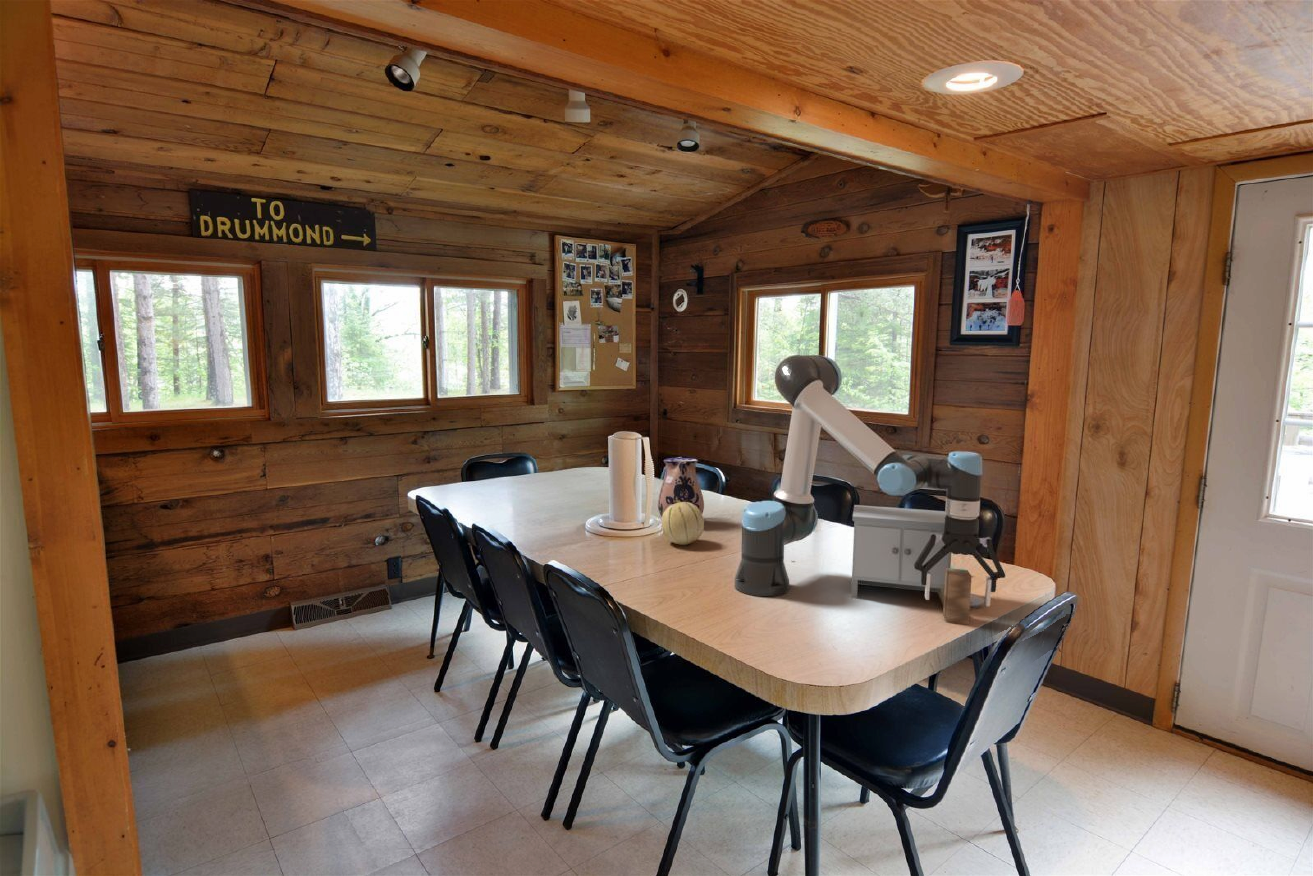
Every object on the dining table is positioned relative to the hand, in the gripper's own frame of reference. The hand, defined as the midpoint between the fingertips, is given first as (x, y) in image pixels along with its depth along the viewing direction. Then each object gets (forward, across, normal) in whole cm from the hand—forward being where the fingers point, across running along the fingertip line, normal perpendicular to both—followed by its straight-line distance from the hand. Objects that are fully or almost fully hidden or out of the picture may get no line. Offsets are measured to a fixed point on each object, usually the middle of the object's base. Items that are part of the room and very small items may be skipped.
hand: (956, 601), depth 167 cm
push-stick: (+5, 0, +8) cm, 9 cm away
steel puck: (+5, +4, +13) cm, 15 cm away
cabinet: (+5, -13, +15) cm, 20 cm away
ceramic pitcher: (+5, -91, +72) cm, 116 cm away
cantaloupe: (+5, -82, +44) cm, 93 cm away
